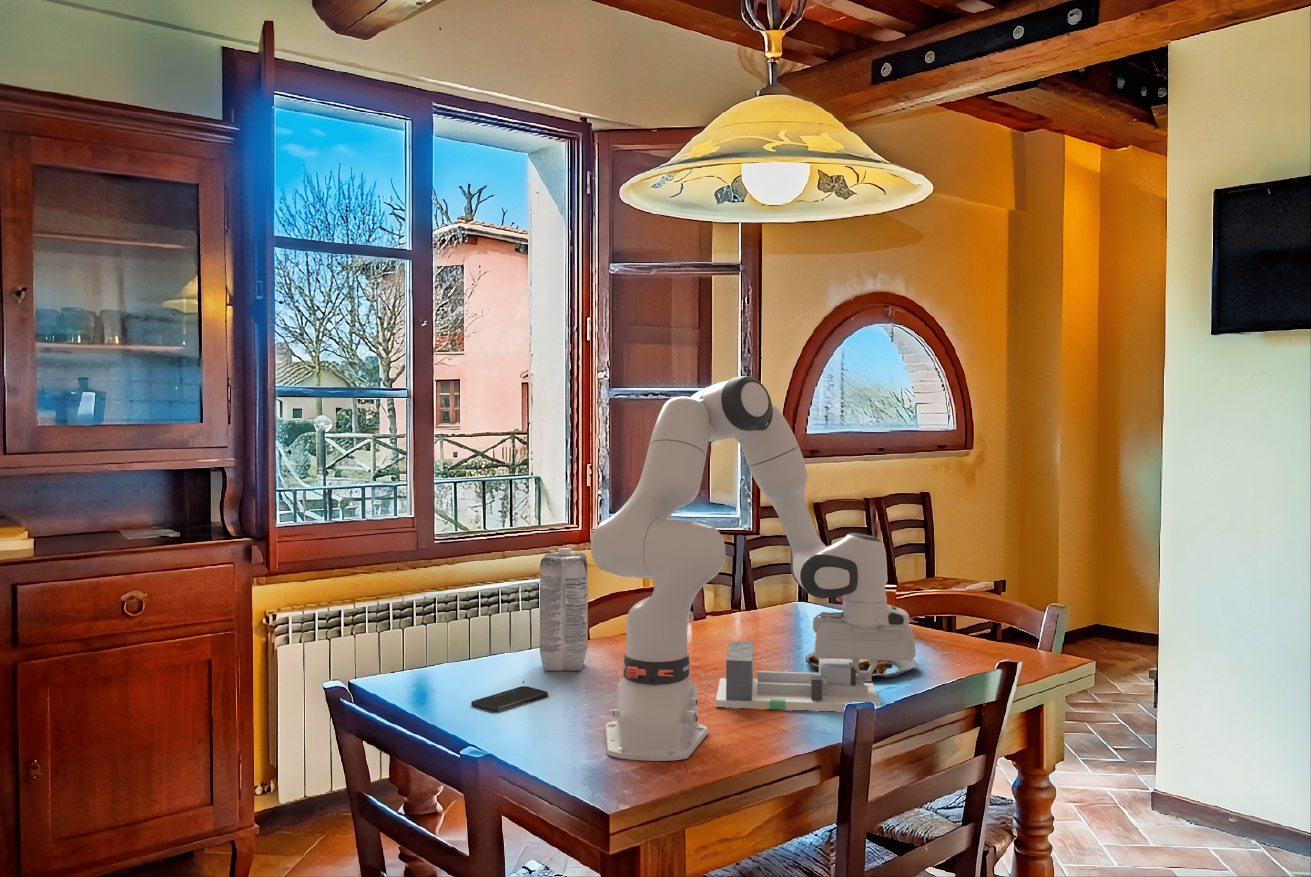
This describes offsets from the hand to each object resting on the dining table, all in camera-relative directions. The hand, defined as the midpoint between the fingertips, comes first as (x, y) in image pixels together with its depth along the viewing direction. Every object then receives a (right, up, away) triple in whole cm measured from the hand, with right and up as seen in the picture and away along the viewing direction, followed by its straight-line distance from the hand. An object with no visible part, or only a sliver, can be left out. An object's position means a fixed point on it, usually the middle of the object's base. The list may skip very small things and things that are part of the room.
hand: (864, 680), depth 204 cm
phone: (-72, -4, -2) cm, 72 cm away
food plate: (+4, -3, +23) cm, 24 cm away
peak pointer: (-11, -2, -7) cm, 13 cm away
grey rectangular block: (-25, -2, +1) cm, 25 cm away
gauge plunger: (-6, -2, -2) cm, 6 cm away
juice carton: (-64, -3, +23) cm, 68 cm away
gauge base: (-14, -4, -1) cm, 14 cm away
